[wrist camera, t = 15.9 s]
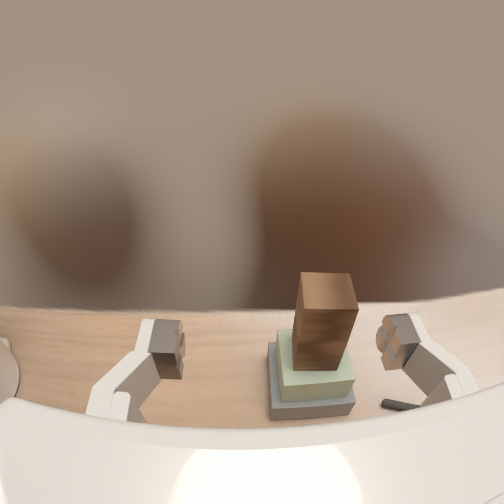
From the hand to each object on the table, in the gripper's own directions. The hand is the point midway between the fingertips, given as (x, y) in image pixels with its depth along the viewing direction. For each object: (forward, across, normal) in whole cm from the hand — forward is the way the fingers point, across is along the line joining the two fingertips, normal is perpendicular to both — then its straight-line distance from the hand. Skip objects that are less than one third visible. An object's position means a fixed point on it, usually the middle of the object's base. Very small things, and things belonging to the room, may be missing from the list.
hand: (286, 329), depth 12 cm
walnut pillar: (+13, -7, +21) cm, 25 cm away
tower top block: (+13, -7, +25) cm, 29 cm away
